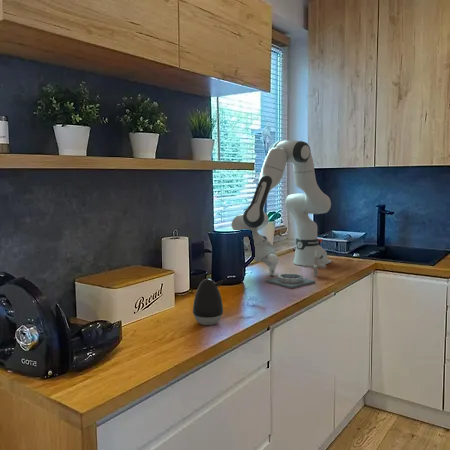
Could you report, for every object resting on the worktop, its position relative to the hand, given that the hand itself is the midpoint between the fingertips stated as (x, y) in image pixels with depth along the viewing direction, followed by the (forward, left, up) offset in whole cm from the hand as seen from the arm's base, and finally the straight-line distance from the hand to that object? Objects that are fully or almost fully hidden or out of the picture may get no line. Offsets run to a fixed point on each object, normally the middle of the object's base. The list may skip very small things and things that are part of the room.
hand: (273, 264), depth 221 cm
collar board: (+3, +14, -6) cm, 16 cm away
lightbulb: (0, -1, -6) cm, 6 cm away
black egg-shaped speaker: (+66, +35, -6) cm, 75 cm away
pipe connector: (-16, +13, -6) cm, 22 cm away
